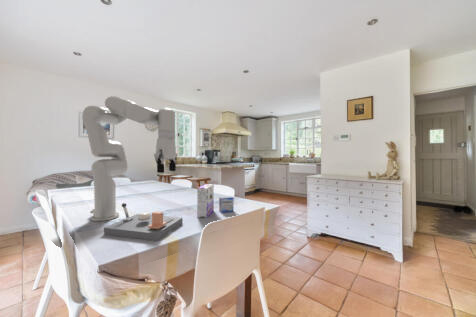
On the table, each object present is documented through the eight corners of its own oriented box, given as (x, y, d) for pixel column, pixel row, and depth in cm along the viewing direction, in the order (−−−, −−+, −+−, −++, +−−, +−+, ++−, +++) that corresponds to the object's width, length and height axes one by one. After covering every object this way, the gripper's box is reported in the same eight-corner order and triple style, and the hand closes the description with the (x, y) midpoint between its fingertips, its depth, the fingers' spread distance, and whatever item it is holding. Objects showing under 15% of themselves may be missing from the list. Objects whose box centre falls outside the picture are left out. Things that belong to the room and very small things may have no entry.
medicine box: (221, 213, 115) (221, 198, 115) (219, 210, 119) (219, 196, 119) (233, 211, 118) (233, 197, 118) (231, 209, 122) (231, 195, 122)
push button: (135, 220, 88) (135, 215, 88) (143, 216, 93) (143, 211, 93) (145, 221, 87) (145, 215, 87) (152, 217, 92) (152, 212, 92)
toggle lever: (124, 219, 92) (120, 204, 92) (127, 217, 94) (123, 203, 94) (127, 218, 91) (123, 203, 92) (131, 216, 93) (126, 202, 94)
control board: (103, 234, 83) (103, 226, 83) (138, 219, 103) (138, 212, 103) (156, 241, 77) (156, 231, 77) (182, 223, 97) (182, 216, 97)
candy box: (204, 210, 120) (204, 183, 120) (213, 210, 120) (214, 184, 119) (197, 217, 107) (197, 187, 106) (207, 217, 106) (207, 187, 106)
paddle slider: (147, 227, 82) (147, 214, 82) (157, 223, 88) (156, 210, 87) (158, 229, 81) (158, 215, 80) (166, 224, 86) (166, 211, 86)
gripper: (169, 137, 101) (169, 170, 102) (147, 134, 84) (147, 173, 85) (182, 137, 100) (182, 170, 100) (163, 133, 83) (163, 173, 83)
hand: (166, 171), depth 92 cm, fingers open, 9 cm apart
